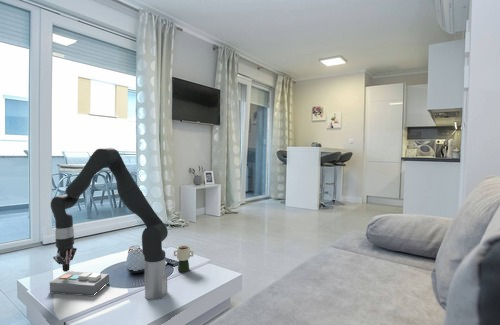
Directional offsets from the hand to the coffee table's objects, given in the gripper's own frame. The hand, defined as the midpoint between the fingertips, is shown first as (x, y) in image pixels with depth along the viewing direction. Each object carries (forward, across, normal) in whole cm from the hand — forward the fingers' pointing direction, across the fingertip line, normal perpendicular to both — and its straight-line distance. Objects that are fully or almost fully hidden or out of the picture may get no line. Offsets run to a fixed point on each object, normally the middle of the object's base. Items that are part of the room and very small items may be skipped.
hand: (66, 270), depth 141 cm
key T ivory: (+5, 0, -15) cm, 16 cm away
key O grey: (+5, 0, -10) cm, 11 cm away
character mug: (+9, +26, -50) cm, 57 cm away
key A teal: (+7, 0, -5) cm, 8 cm away
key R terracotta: (+7, 0, 0) cm, 7 cm away
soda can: (+9, +25, -22) cm, 34 cm away
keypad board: (+8, 0, -7) cm, 11 cm away
